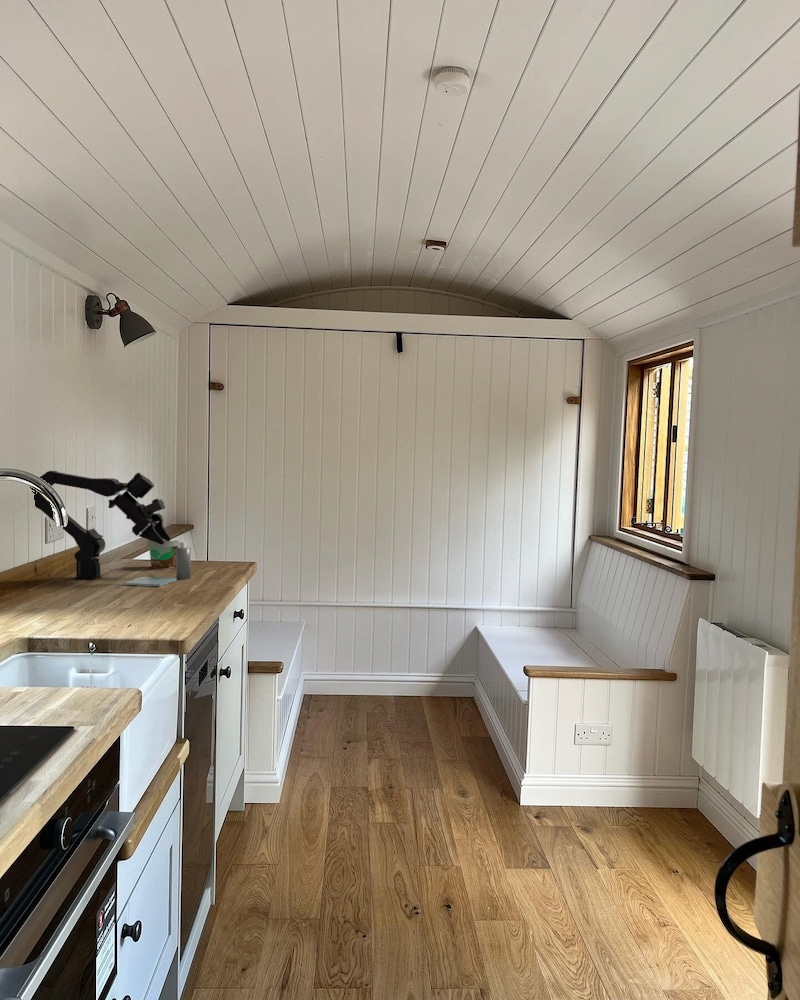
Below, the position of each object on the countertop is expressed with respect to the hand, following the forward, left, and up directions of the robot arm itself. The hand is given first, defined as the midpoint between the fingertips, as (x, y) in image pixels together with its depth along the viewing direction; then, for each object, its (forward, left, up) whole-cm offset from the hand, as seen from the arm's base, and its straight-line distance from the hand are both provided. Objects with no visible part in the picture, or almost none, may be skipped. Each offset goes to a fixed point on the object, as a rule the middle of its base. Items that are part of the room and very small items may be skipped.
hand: (166, 541), depth 255 cm
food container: (-12, +19, -12) cm, 26 cm away
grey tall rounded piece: (+5, +1, -12) cm, 13 cm away
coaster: (-1, -10, -12) cm, 15 cm away
